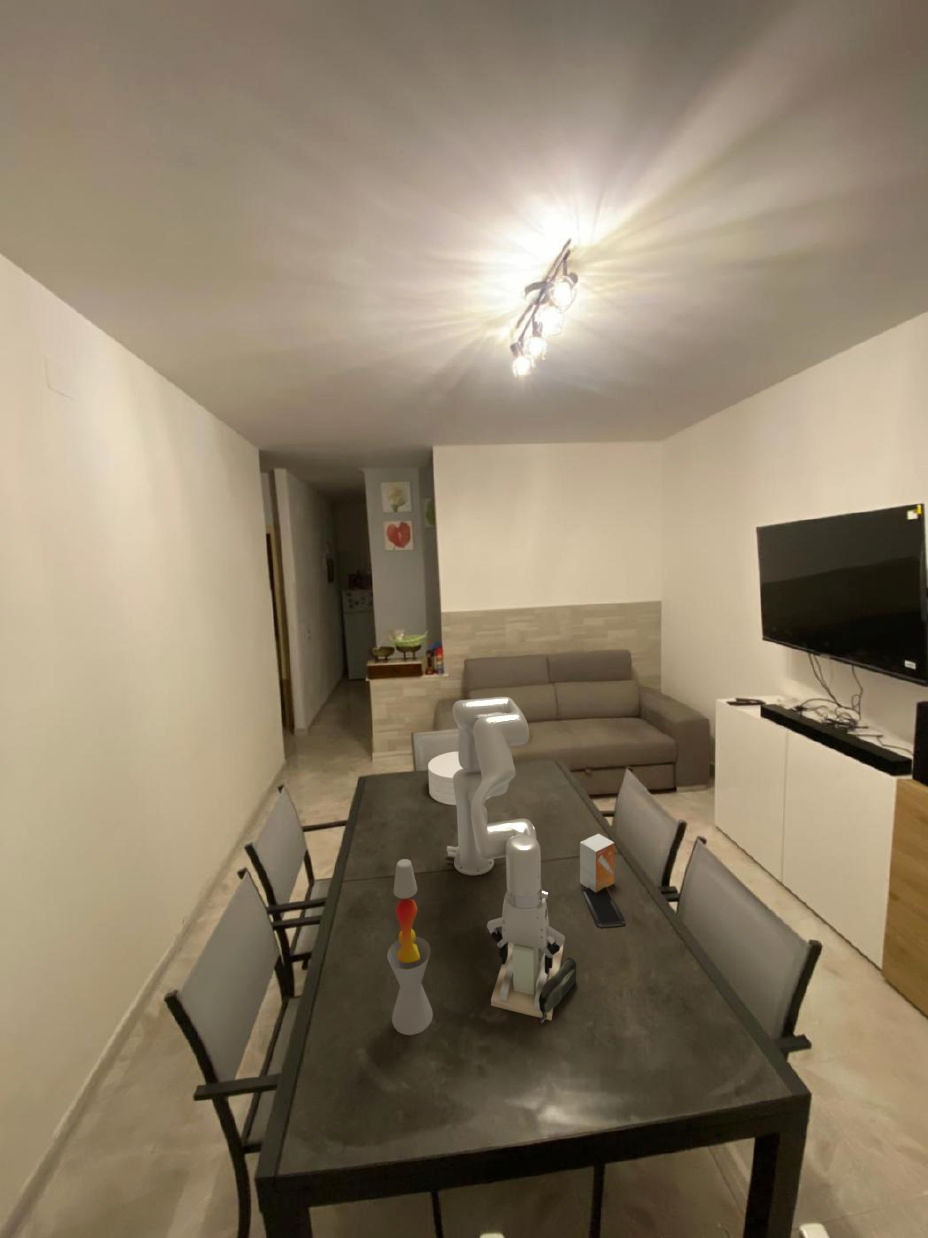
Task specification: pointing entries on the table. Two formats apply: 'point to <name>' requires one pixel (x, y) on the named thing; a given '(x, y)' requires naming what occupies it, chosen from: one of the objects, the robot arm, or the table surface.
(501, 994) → the rail board
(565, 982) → the mobile phone
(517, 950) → the pale green tall block
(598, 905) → the phone
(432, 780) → the plate stack
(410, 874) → the lava lamp
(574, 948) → the table surface
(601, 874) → the small box
